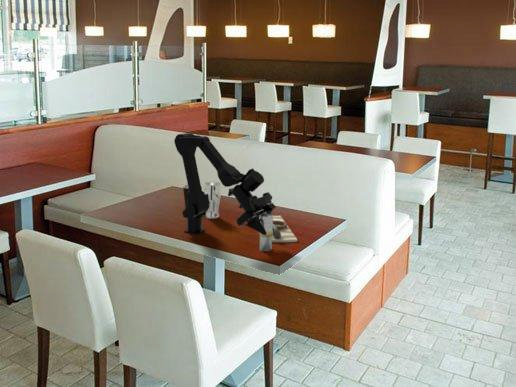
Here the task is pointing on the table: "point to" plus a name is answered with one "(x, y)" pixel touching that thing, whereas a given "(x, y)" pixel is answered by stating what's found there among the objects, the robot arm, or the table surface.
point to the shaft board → (281, 231)
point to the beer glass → (213, 199)
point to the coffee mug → (186, 194)
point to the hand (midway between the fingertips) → (269, 232)
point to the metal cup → (268, 226)
